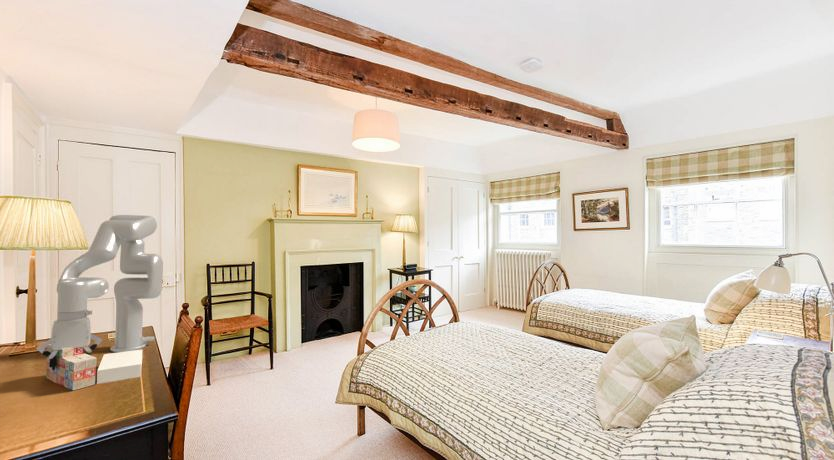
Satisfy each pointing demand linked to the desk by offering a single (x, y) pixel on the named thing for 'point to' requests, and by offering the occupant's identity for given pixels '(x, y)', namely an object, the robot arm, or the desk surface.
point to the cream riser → (120, 366)
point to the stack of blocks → (72, 368)
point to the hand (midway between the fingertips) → (70, 365)
